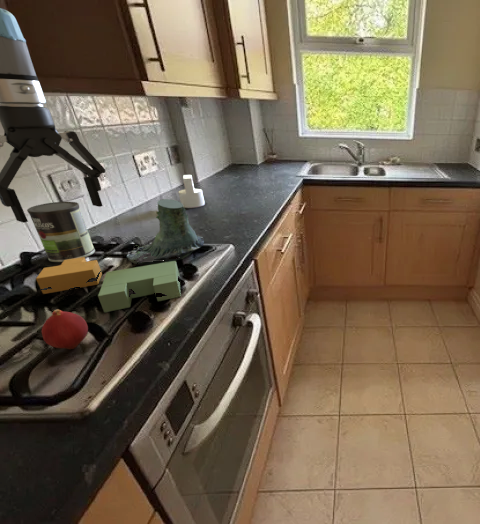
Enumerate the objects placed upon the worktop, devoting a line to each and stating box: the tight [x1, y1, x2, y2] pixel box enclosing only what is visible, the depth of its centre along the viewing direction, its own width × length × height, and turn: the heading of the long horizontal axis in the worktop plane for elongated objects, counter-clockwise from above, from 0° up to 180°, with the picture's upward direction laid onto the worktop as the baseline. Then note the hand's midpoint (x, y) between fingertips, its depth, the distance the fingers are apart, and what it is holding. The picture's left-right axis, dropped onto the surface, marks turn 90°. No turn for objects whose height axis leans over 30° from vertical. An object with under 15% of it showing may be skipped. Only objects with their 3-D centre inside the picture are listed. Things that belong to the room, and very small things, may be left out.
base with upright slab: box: [177, 174, 206, 209], centre depth 139 cm, size 9×9×12 cm
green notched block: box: [97, 260, 182, 313], centre depth 75 cm, size 14×12×4 cm
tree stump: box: [126, 198, 205, 266], centre depth 94 cm, size 18×20×18 cm
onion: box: [41, 309, 89, 350], centre depth 56 cm, size 6×6×8 cm
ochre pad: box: [35, 257, 103, 295], centre depth 79 cm, size 10×10×4 cm
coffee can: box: [26, 201, 96, 263], centre depth 90 cm, size 10×10×14 cm
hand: (63, 213), depth 72 cm, fingers open, 13 cm apart
